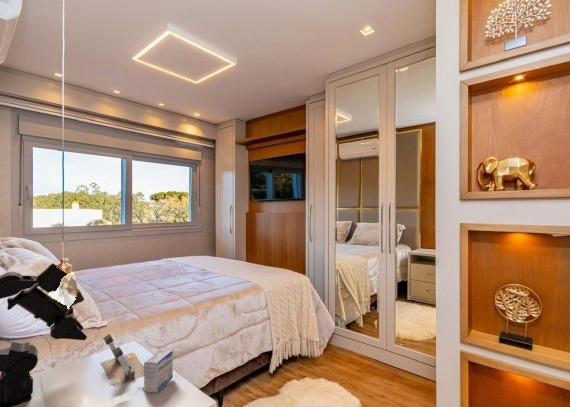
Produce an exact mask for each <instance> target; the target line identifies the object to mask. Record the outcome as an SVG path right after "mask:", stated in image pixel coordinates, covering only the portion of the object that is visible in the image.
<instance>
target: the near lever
mask: <svg viewBox="0 0 570 407" xmlns="http://www.w3.org/2000/svg"><path fill="white" fill-rule="evenodd" d="M115 348H116V349H114V350H112V351H111V353H112V352H113V353H112V354H114V355H113V356H115V357H116V359H117V358H118V360H119V362H120V364H121V366H122V368H123V370H124V372H125V374H126V375H127V377H128V373H129V372H131V371H130V369H129V367H128V365H127V364H126V362H125V360H124V358H123V356H124V352H123V350H122V349H121V347H120V346H117V347H115ZM115 357H114V358H115Z"/></svg>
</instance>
